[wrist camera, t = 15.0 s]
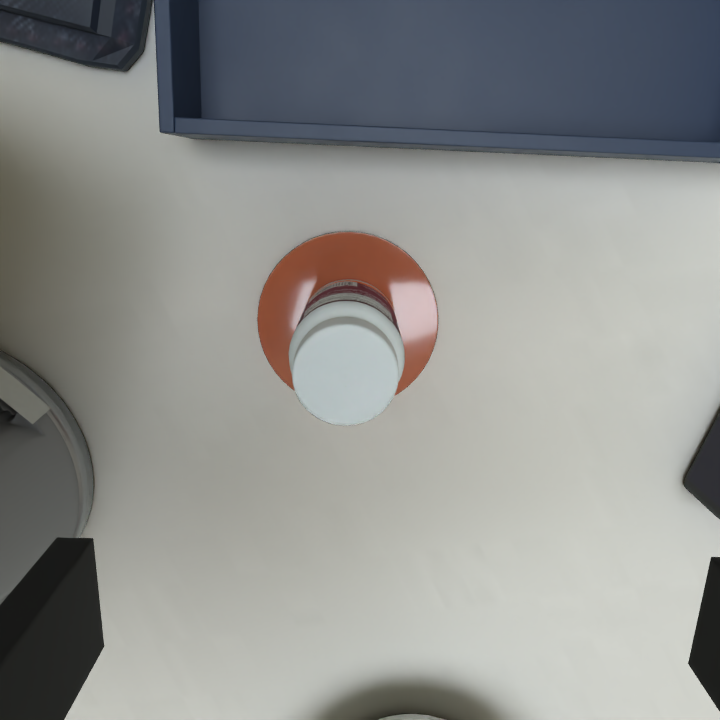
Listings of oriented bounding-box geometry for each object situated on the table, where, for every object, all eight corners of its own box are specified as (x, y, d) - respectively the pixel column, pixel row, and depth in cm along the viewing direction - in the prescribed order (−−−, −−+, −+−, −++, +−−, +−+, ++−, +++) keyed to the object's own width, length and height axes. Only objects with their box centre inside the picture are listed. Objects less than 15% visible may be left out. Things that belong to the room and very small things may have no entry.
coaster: (258, 402, 33) (257, 404, 33) (258, 227, 31) (257, 227, 30) (430, 409, 33) (431, 412, 33) (444, 235, 31) (445, 236, 30)
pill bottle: (376, 383, 32) (381, 453, 24) (288, 350, 32) (263, 411, 24) (412, 298, 31) (429, 342, 23) (321, 262, 31) (307, 295, 23)
